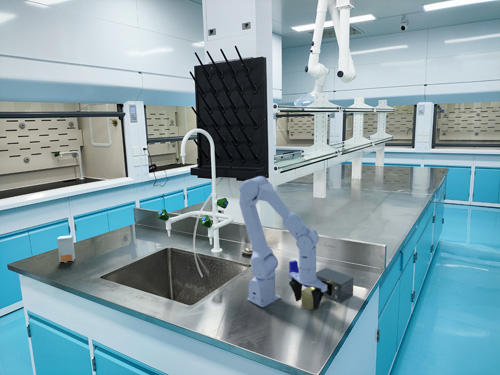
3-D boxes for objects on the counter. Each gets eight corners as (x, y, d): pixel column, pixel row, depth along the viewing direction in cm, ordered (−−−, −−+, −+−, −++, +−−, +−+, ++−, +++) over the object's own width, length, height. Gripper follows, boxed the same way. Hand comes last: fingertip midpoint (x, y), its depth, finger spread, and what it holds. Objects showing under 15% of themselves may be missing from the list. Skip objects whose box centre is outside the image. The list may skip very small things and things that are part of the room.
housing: (339, 303, 120) (340, 285, 119) (311, 292, 129) (311, 274, 128) (353, 295, 126) (353, 277, 125) (325, 284, 135) (325, 267, 133)
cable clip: (315, 284, 135) (315, 270, 134) (305, 287, 133) (305, 272, 132) (298, 273, 146) (298, 259, 145) (289, 275, 144) (289, 261, 143)
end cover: (312, 311, 115) (312, 294, 114) (299, 304, 119) (299, 289, 118) (330, 300, 122) (330, 284, 121) (317, 294, 126) (317, 279, 125)
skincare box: (59, 263, 162) (56, 239, 160) (61, 260, 166) (58, 236, 164) (73, 261, 164) (70, 237, 161) (75, 258, 168) (72, 234, 165)
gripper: (333, 269, 112) (332, 307, 115) (298, 257, 123) (298, 292, 125) (319, 276, 108) (319, 316, 110) (284, 263, 118) (285, 299, 121)
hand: (307, 304), depth 117 cm, fingers open, 7 cm apart
